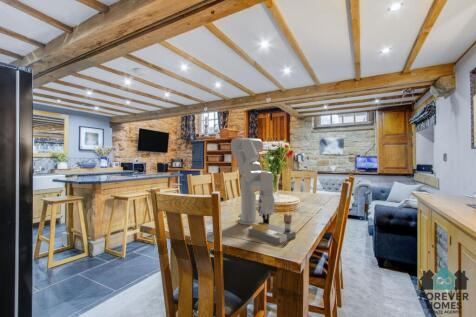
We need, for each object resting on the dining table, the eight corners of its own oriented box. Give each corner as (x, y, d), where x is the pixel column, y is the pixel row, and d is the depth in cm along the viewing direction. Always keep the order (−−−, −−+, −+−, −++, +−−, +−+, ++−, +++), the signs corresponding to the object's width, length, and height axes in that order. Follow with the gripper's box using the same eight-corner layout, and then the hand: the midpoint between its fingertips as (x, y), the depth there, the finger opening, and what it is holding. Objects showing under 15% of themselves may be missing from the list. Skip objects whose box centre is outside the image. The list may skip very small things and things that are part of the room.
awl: (282, 231, 124) (282, 214, 124) (286, 229, 127) (286, 213, 127) (288, 233, 121) (288, 216, 121) (292, 231, 124) (293, 214, 124)
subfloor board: (248, 234, 128) (248, 228, 128) (267, 228, 138) (267, 223, 138) (277, 244, 113) (277, 238, 113) (295, 237, 124) (295, 231, 124)
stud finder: (252, 228, 128) (252, 222, 128) (259, 226, 132) (259, 221, 132) (261, 231, 123) (261, 225, 123) (268, 229, 127) (268, 223, 127)
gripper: (262, 195, 123) (262, 229, 123) (279, 192, 133) (279, 224, 133) (252, 193, 128) (252, 226, 128) (269, 191, 138) (269, 221, 138)
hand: (265, 225), depth 131 cm, fingers closed
